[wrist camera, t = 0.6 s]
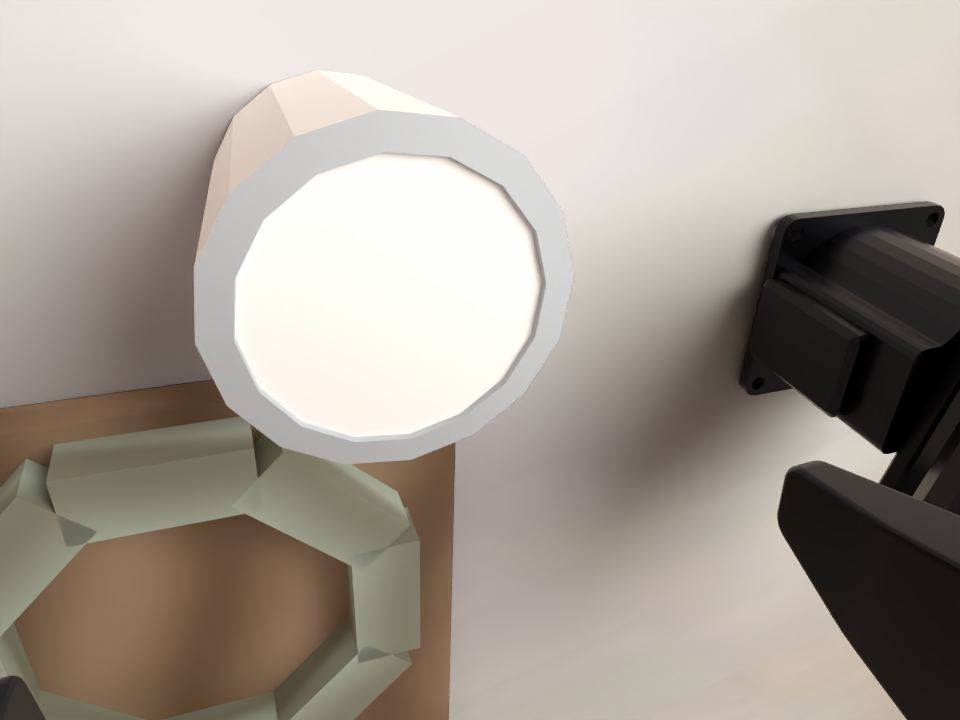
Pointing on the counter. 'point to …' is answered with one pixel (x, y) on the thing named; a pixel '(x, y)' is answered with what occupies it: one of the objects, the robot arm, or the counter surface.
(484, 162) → the white cylinder
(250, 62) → the counter surface
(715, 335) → the counter surface
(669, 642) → the counter surface
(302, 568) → the gear board
